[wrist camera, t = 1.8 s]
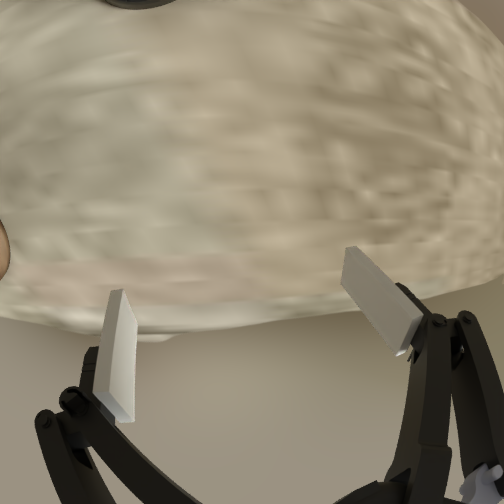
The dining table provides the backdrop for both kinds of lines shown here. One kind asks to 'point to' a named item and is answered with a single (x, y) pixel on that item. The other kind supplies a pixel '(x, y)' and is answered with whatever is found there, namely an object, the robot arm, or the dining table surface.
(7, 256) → the plate
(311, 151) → the dining table surface
